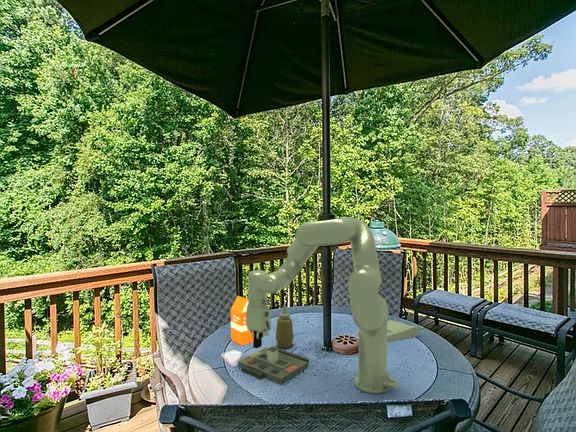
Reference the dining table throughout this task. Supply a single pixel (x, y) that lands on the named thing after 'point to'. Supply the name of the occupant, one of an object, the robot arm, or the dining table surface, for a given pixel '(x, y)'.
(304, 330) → the dining table surface
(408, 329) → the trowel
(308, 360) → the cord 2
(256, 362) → the breaker panel
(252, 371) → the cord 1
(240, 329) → the orange juice
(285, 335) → the squeeze bottle
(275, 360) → the breaker lever
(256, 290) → the robot arm
